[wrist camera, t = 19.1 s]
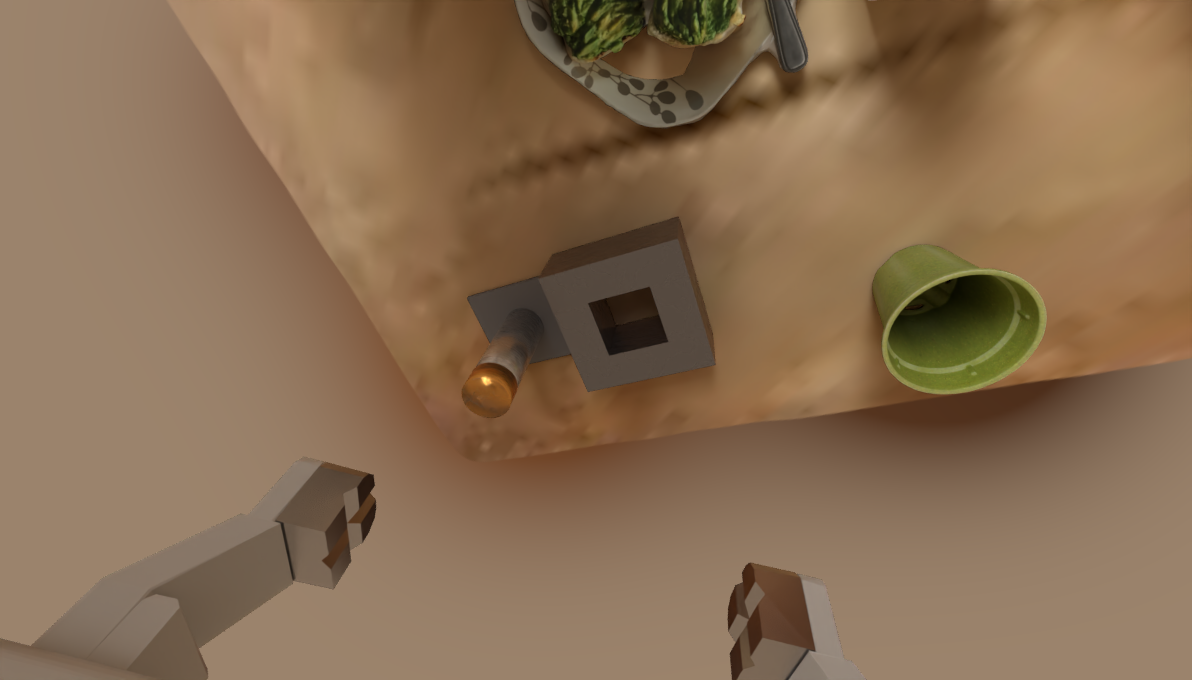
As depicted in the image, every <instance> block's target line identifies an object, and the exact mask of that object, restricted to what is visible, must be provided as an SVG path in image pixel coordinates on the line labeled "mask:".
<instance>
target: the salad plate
mask: <svg viewBox="0 0 1192 680" xmlns="http://www.w3.org/2000/svg"><path fill="white" fill-rule="evenodd" d="M514 2H515V6H516V9H517V12H518V15H519V18H520V21H521V25H522V27H523V29H524V30H525V32H526V35H527V36H528V38H529V40H530V41H531V42H532V43H533V44H534V45H535V46H536V48H537V49H538V50H539V52H540V53H541V54H543V55H544V56H545V57H546V58H547V59H548V60H549V61H550V62H551V63H552V64H554V65H555V66H556V67H558V68H559V69H560V70H561V71H563V72H564V73H566V74H567V75H569V76H570V77H571V78H573V79H575V80H576V81H577V82H578V83H580V84H581V85H582V86H584V87H585V88H586V89H588V90H589V91H590V92H592V93H593V94H595V95H596V96H598V97H599V98H600V99H601V100H602V101H603V102H605V104H606V105H608V106H610V107H612V108H613V109H614V110H616V111H618V112H619V113H621V114H623V115H624V116H626V117H628V118H629V119H631V120H632V121H634V122H636V123H637V124H640V125H644V126H647V127H657V128H658V127H660V128H665V129H666V128H670V127H674V126H680V125H683V124H689V123H694V122H696V121H699V120H701V119H702V118H703V117H704V116H706V115H707V114H708V113H709V112H710V111H711V110H712V109H713V108H714V107H715V106H716V104H717V103H718V101H719V100H720V99H721V98H722V96H723V95H725V94H726V93H727V92H728V90H729V89H730V88H731V87H732V85H734V84H735V83H736V81H737V80H738V78H739V77H740V75H741V74H742V73H743V72H744V71H745V69H746V68H747V66H748V65H749V64H750V62H752V61H753V60H755V59H756V58H757V56H759V55H760V54H761V53H763V52H768V51H769V52H770V53H772V54H773V55H774V56H775V57H776V59H777V60H778V63H779V66H780V68H782V69H783V70H784V71H785V72H788V73H790V72H793V73H795V72H797V71H799V70H801V69H803V67H804V66H805V65H806V64H807V62H808V51H807V47H806V43H805V40H804V37H803V35H802V32H801V29H800V27H799V24H798V20H797V17H796V10H795V8H796V2H797V0H514ZM646 26H647V33H648V34H649V35H651V36H654V37H656V38H657V39H659V40H660V41H662V42H664V43H666V44H668V45H670V46H674V47H678V48H689V47H695V50H694V52H693V55H692V59H691V61H690V63H689V65H688V67H687V69H686V71H685V73H684V74H683V75H681V76H677V77H673V78H670V79H663V80H657V79H640V78H637V77H633V76H631V75H627V74H624V73H623V72H621V71H619V70H617V69H616V68H614V67H612V66H611V65H609V64H608V63H606V62H605V61H603V60H602V59H601V58H602V57H604V56H606V55H607V54H609V53H610V52H614V53H617V52H619V51H621V49H622V47H623V46H624V43H625V42H627V41H629V40H631V39H632V38H634V37H635V36H637V35H638V34H639V33H640V31H641V30H642V29H643V28H644V27H646Z"/></svg>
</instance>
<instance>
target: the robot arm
mask: <svg viewBox="0 0 1192 680" xmlns="http://www.w3.org/2000/svg"><path fill="white" fill-rule="evenodd" d="M374 486H375V482H374V475H372V474H369V473H366V472H362V471H358V470H354V469H350V468H346V467H343V466H339V465H335V464H332V463H328V462H324V461H320V460H316V459H312V458H307V457H302V458H301V459H299V460H297V461H296V462H295V463H294V464H293V465H292V466H291V467H290V468H289V470H288V471H287V472H286V473H285V474H284V475H283V476H282V477H281V478H280V480H279V481H278V482H277V483H276V484H275V485H274V487H272V488H271V490H270V491H269V492H268V493H267V494H266V495H265V496H264V497H263V499H262V500H261V501H260V502H259V503H258V504H257V505H256V506H255V508H254V509H253V510H252V511H251V512H250V513H249V514H248V515H245V514H239V515H237V516H235V517H233V518H230V519H228V520H226V521H224V522H222V523H220V524H217V525H216V526H213V527H211V528H209V529H207V530H205V531H202V532H200V533H198V534H196V535H194V536H192V537H189V538H187V539H185V540H183V541H181V542H179V543H176V544H174V545H172V546H170V547H168V548H166V549H164V550H161V551H159V552H157V553H155V554H153V555H151V556H149V557H147V558H144V559H142V560H140V561H138V562H136V563H133V564H131V565H129V566H127V567H125V568H123V569H120V570H118V571H116V572H114V573H112V574H110V575H108V576H105V577H103V578H102V579H101V580H100V581H99V582H98V583H96V584H95V585H94V586H93V587H92V588H91V589H90V590H89V591H88V592H87V593H86V594H85V595H84V596H83V597H82V598H81V599H80V600H79V601H78V602H77V603H75V605H73V606H72V607H71V608H70V609H69V610H68V611H67V612H66V613H65V614H64V615H63V616H62V617H61V618H60V619H59V620H57V622H55V623H54V625H52V626H51V627H50V628H49V629H48V630H47V631H46V632H45V633H44V634H43V635H42V636H41V637H40V638H39V639H38V640H37V641H35V643H33V644H32V645H31V646H29V645H25V644H21V643H17V642H13V641H9V640H5V639H1V638H0V680H207V679H208V670H207V667H206V665H205V662H204V660H203V658H202V655H201V653H200V651H199V648H200V647H202V646H203V645H205V644H206V643H208V642H209V641H210V640H212V639H213V638H215V637H216V636H218V635H219V634H221V633H222V632H223V631H225V630H226V629H228V628H229V627H231V626H232V625H234V624H235V623H236V622H238V621H239V620H241V619H242V618H243V617H245V616H247V615H248V614H249V613H251V612H252V611H254V610H255V609H257V608H258V607H260V606H261V605H263V604H264V603H265V602H267V601H268V600H270V599H271V598H273V597H274V596H276V595H277V594H278V593H280V592H281V591H283V590H284V589H286V588H287V587H288V586H290V585H291V584H293V581H297V582H302V583H306V584H311V585H315V586H320V587H325V588H329V589H334V588H335V586H336V585H337V583H338V582H339V580H340V578H341V577H342V575H343V574H344V572H345V570H346V569H347V567H348V565H349V564H350V562H351V555H350V550H351V549H353V548H355V547H357V546H358V545H360V544H362V543H363V541H364V540H365V538H366V536H367V535H368V533H369V531H370V529H371V526H372V523H373V521H374V518H375V513H376V499H375V498H374V497H373V496H372V495H371V494H370V492H371V490H372V489H373V488H374ZM742 578H743V582H742V583H740V584H737V585H735V587H734V590H733V592H732V594H731V597H730V602H729V607H728V632H729V633H730V635H731V636H732V638H733V639H734V641H735V642H736V643H735V645H734V647H733V648H732V650H731V652H730V662H731V674H732V680H866V678H865V677H864V676H863V675H862V674H861V672H860V671H859V669H858V668H857V667H856V666H855V664H854V663H853V662H852V661H850V660H846V659H844V655H843V651H842V648H841V644H840V640H839V636H838V632H837V628H836V624H835V620H834V616H833V612H832V609H831V604H830V600H829V597H828V593H827V589H826V585H825V583H824V582H823V580H822V579H818V578H814V577H810V576H805V575H801V574H796V573H795V572H791V571H786V570H781V569H777V568H772V567H768V566H763V565H759V564H754V563H748V564H747V565H746V566H745V568H744V570H743V572H742Z"/></svg>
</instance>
